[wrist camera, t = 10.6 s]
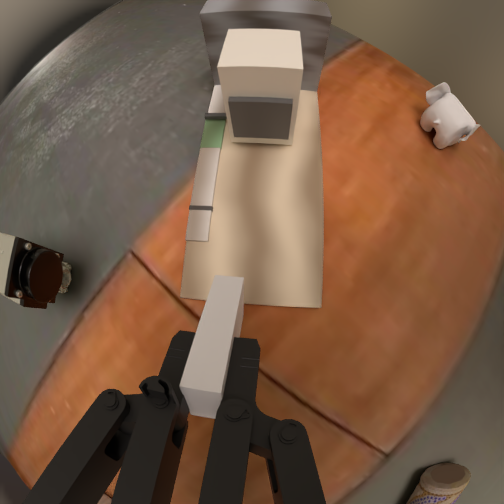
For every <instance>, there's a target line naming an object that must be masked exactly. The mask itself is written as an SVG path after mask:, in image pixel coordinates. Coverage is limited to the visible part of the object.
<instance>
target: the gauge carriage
mask: <svg viewBox="0 0 504 504" xmlns="http://www.w3.org/2000/svg"><path fill="white" fill-rule="evenodd" d="M217 69H218V74H219V79H220V85H221V90H222V95H223V101H224V106H225V111H226V113H205V119H227V122H228V127H229V133H230V138H231V142H241V143H267V144H283V145H292V143H293V137H294V130H295V124H296V117H297V110H298V104H299V97H300V90H301V83H302V76H303V59H302V48H301V38H300V31H294V30H281V29H228V32H227V35H226V38H225V42H224V45H223V48H222V52H221V55H220V59H219V62H218V66H217Z"/></svg>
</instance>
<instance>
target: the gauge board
mask: <svg viewBox="0 0 504 504" xmlns="http://www.w3.org/2000/svg"><path fill="white" fill-rule="evenodd" d="M200 18H201V23H202V28H203V32H204V37H205V42H206V47H207V51H208V56H209V61H210V65H211V70H212V75H213V80H214V84H215V86H214V90H213V94H212V98H211V102H210V107H209V111H208V113H226V111H225V106H224V101H223V95H222V90H221V85H220V79H219V74H218V69H217V66H218V62H219V59H220V55H221V52H222V48H223V45H224V42H225V38H226V35H227V32H228V29H281V30H294V31H300V38H301V48H302V59H303V76H302V83H301V90H300V97H299V104H298V110H297V117H296V124H295V130H294V137H293V143H292V145H283V144H267V143H241V142H231V138H230V133H229V127H228V122H227V119H206V122H205V126H204V131H203V136H202V140H201V145H200V153H199V159H198V164H197V169H196V175H195V180H194V186H193V192H192V198H191V204H190V206H189V210H190V211H189V217H188V224H187V231H186V239H185V240H186V249H185V257H184V266H183V275H182V284H181V294H180V297H181V298H187V299H197V300H207V297H208V294H209V291H210V288H211V285H212V282H213V280H214V277H215V275H222V276H233V277H244V304H254V305H269V306H285V307H305V308H321V304H322V283H323V246H324V206H323V170H322V149H321V133H320V120H319V108H318V97H317V89H318V84H319V80H320V75H321V70H322V65H323V60H324V55H325V50H326V45H327V40H328V35H329V29H330V24H331V19H332V16H331V14H330V11H329V8H328V5H327V3H326V2H319V1H311V0H207V2H206V3H205V5H204V7H203V9H202V10H201V12H200Z"/></svg>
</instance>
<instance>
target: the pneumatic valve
mask: <svg viewBox="0 0 504 504" xmlns="http://www.w3.org/2000/svg"><path fill="white" fill-rule="evenodd" d="M63 256H64V254H62V253H59V252H56V251H54V250H51V249H48V248H45V247H43V246H40V245H37V244H35V243H32V242H29V241H27V240H24V239H22V238H19V237H15V236H12V235H8V234H4V233H1V232H0V294H2V295H4V296H6V297H7V298H9V299H11V300H13V301H14V302H16V303H18V304H20V305H22V306H23V307H31V308H42V309H46V308H47V303H48V302H49V303H55V298H56V295H57V293H58V292H60V293H63V294H64V293H66V292H67V291H68V289H67V287H68V286H69V285H70V283H71V272H70V271H71V269H72V267H71V265H70V264H69V263H66V262H63V261H62V260H63Z"/></svg>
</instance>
